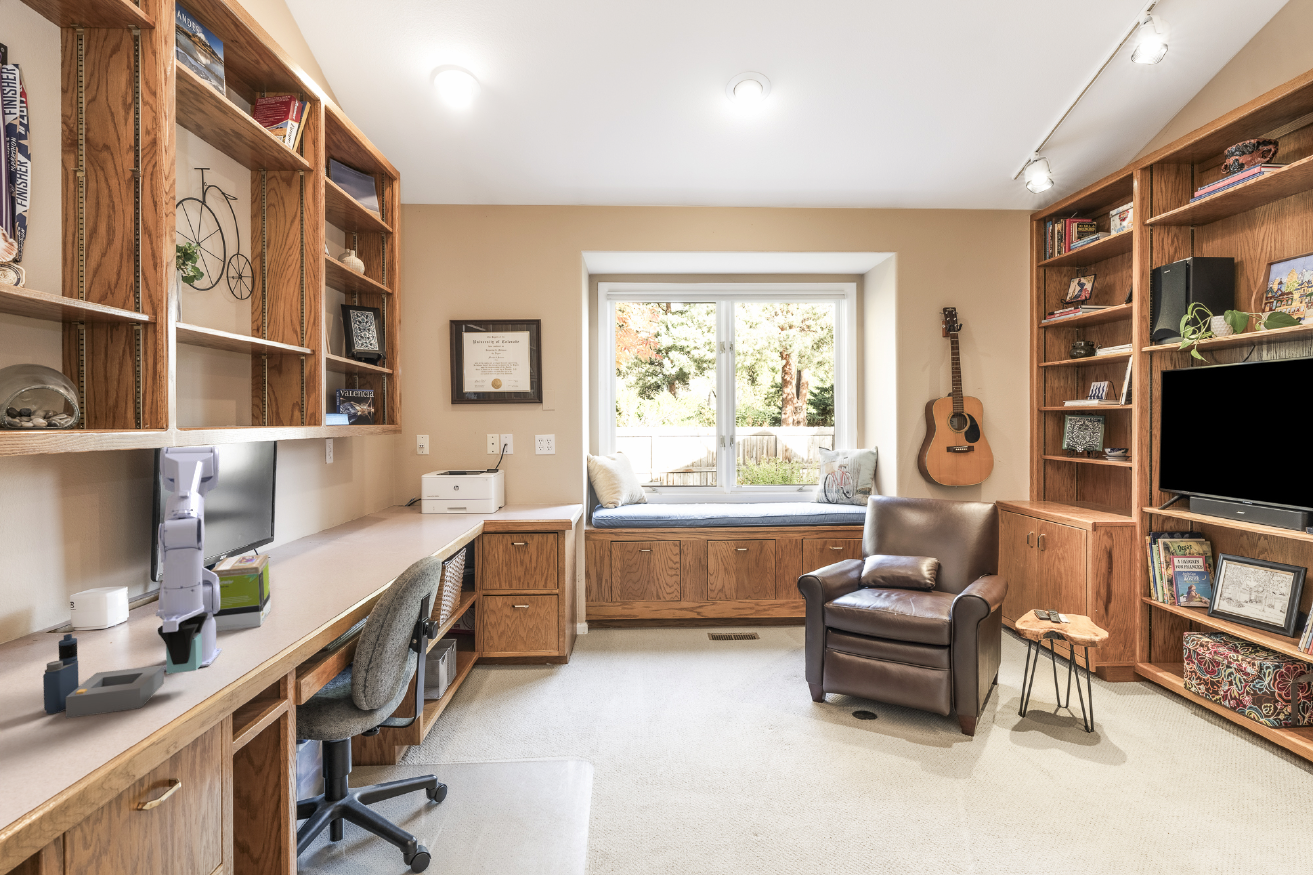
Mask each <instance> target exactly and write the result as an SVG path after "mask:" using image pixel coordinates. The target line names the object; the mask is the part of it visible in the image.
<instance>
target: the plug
mask: <svg viewBox="0 0 1313 875" xmlns="http://www.w3.org/2000/svg"><path fill="white" fill-rule="evenodd" d="M165 646H166V645H165ZM165 651H166V653H165V654H166V658H165V660H166V663H165V665H166V664H167V671H166V674H167V675H168V674H177V673H185V672H194V671H197V670H198V669H199V668H201V667H200V665H201V664H202V633H201V634H199V633H194V635H193V639H192V643H191V650H190V657H189V660H188V663H186V664H177V665H173V663H172V660H171V657H170V654H169V651H168V648H167V646H166V648H165Z"/></svg>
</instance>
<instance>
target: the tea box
mask: <svg viewBox="0 0 1313 875" xmlns="http://www.w3.org/2000/svg"><path fill="white" fill-rule="evenodd" d="M269 561H270V560H269V554H268V553H267V554H258V555H257V554H256V555H243V556H231V557H224V558H223V559H222V560H221V561H219V563H217V565H216V566H215V567H213V568H212V569H210V571H211V572H213V573H215V574H217V577H219V585H220V610H219V611H218V612H217V613H216V614H214V613H213V618H214V619H215V622H216V633H217V632H225V631H233V630H244V629H250V628H251V629H252V628H257V627H258V628H259V627H261V626H262V624H263V623H264V621H265V619H266V618H267V616H268V615H269V612H270V611H271V609H272V608H271V606H272V605H271V587H270V586H271V585H270V562H269Z"/></svg>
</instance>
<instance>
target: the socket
mask: <svg viewBox="0 0 1313 875" xmlns="http://www.w3.org/2000/svg"><path fill="white" fill-rule="evenodd" d="M164 666H165V665H164V664H162V665H155V666H153V665H152V666H144V667H135V668H127V669H118V670H110V671H109V670H108V671H101V672H95V673H94V674H93V675H91V677H89V678H87V680H85V681H84V682H83V683H82V684H81V685H80V684H79V687H78V688H77V689H75V690H74V691H73V692H72V693H70V694H69V695H68V696H67V697H66V709H65V718H66V719H67V718H74V717H83V716H90V715H99V714H105V713H113V711H114V712H120V711H121V710H122V711H128V710H135V708H137V709H141V708H142V707H144V705H145V704H146V703H147V702H148V701H149V700H150V699H151V698H152V697H153V696H154V695H155V693H156V692H157V691H158V690H160V688H161V687H162V686H163V685H164V684H165V675H164V674H165V673H164V672H165V671H164ZM151 696H152V697H151ZM149 698H150V699H149ZM148 699H149V700H148ZM147 700H148V701H147ZM145 702H146V703H145Z"/></svg>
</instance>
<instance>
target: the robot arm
mask: <svg viewBox="0 0 1313 875" xmlns="http://www.w3.org/2000/svg"><path fill="white" fill-rule="evenodd" d="M159 471H160V475H161V480H162V485H163V486H164V489H165V490H166V491H169V492H171V494H170V495H169V496H168V497H167V499H166V502H165V510H164V520H163V523H161V522H160V523H159V525H158V532H157V533H158V535H157V540H158V547H159V553H160V562H161V563H162V582H161V583H160V589H159V594H158V610H157V611H155V617H159V618H160V619H161V620H162V625H160V626H159V627H158V628H157V634H158V635H159V637H160V638H161V639H162V640H163V642H164V644H165V646H167V648H168V651H169V654H170V657H171V660H172V663H173V665H177V664H186V663H188V660H189V657H190V650H191V643H192V639H193V635H194V633H199V634H201V633H202V664H201V665H200V667H199V668H201V667H208V666H210V665H211V664H212V663H213V662H214V661H215V659H216V658H217V657H218V656H219V655H220V653H222V651H223V649H222V648H221V647H219V648H217V632H216V622H215V619H214V618H213V613H214V614H216V613H217V612H218V611H219V610H220V585H219V577H217V574H215V573H213V572H211V570H209V569H208V568H206V567H204V561H205V560H204V559H205V558H204V553H205V552H204V545H205V542H206V541H205V540H206V539H205V538H206V534H205V532H206V531H205V530H206V529H205V528H206V526H205V502H206V499H207V495H208V493H209V492H210V491H212V490H215V488H218V483H219V479H220V477H219V476H220V475H219V474H220V450H219V448H218V447H217V446H215V445H213V446H196V447H195V446H190V447H189V446H187V447H180V446H179V447H168V446H163V448H162V449H160V452H159ZM165 671H166V672H167V664H166V663H165V665H164V672H165Z"/></svg>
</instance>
